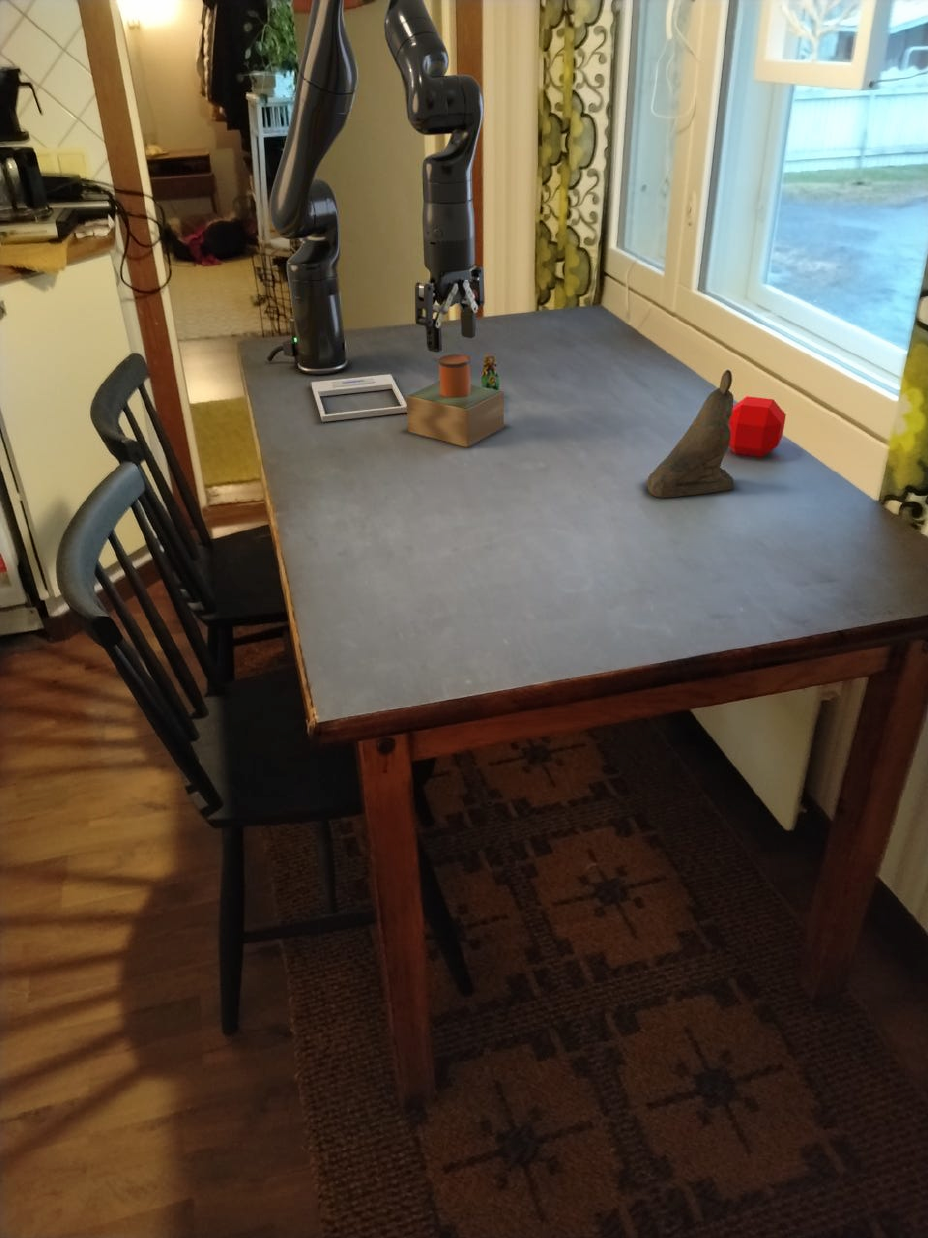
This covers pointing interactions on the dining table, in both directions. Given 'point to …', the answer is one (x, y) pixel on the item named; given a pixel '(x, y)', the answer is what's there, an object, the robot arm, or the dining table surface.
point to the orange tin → (454, 375)
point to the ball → (756, 426)
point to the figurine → (490, 374)
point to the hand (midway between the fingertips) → (451, 343)
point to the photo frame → (352, 387)
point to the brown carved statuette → (699, 451)
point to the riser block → (455, 414)
